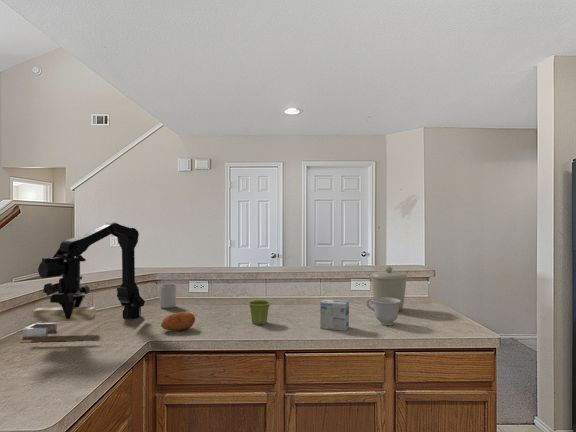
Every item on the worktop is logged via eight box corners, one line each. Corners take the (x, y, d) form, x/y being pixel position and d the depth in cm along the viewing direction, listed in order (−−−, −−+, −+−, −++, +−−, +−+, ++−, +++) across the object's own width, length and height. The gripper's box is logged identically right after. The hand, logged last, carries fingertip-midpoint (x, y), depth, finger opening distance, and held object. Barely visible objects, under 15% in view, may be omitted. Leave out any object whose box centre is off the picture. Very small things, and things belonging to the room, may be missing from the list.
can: (171, 309, 188) (171, 284, 188) (157, 308, 189) (157, 283, 189) (178, 306, 195) (178, 282, 195) (164, 305, 196) (165, 281, 197)
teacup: (372, 317, 173) (372, 295, 173) (405, 323, 164) (405, 299, 165) (360, 323, 163) (360, 299, 163) (395, 329, 155) (395, 304, 155)
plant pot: (274, 321, 165) (274, 301, 166) (263, 327, 157) (264, 305, 157) (255, 319, 169) (255, 299, 169) (244, 324, 161) (244, 303, 161)
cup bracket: (56, 330, 145) (56, 322, 145) (45, 337, 137) (46, 328, 137) (34, 331, 144) (34, 323, 144) (22, 337, 136) (22, 329, 136)
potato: (196, 331, 151) (196, 312, 151) (161, 334, 146) (162, 315, 146) (193, 326, 157) (193, 308, 157) (160, 329, 152) (160, 311, 153)
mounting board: (104, 325, 158) (104, 321, 158) (83, 341, 137) (83, 336, 137) (50, 326, 156) (50, 322, 156) (19, 342, 135) (19, 338, 135)
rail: (95, 317, 145) (95, 306, 145) (91, 320, 141) (91, 309, 141) (38, 318, 142) (38, 307, 142) (32, 321, 138) (32, 310, 138)
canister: (412, 308, 193) (412, 265, 193) (401, 315, 178) (401, 269, 178) (377, 303, 203) (377, 263, 203) (364, 310, 187) (364, 266, 188)
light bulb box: (349, 327, 158) (349, 300, 158) (346, 331, 152) (346, 303, 152) (323, 324, 161) (323, 298, 162) (319, 328, 155) (319, 301, 155)
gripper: (60, 271, 150) (59, 311, 150) (33, 278, 132) (33, 324, 132) (90, 271, 151) (89, 311, 151) (68, 278, 133) (68, 323, 133)
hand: (70, 317), depth 142 cm, fingers closed on rail, 4 cm apart
